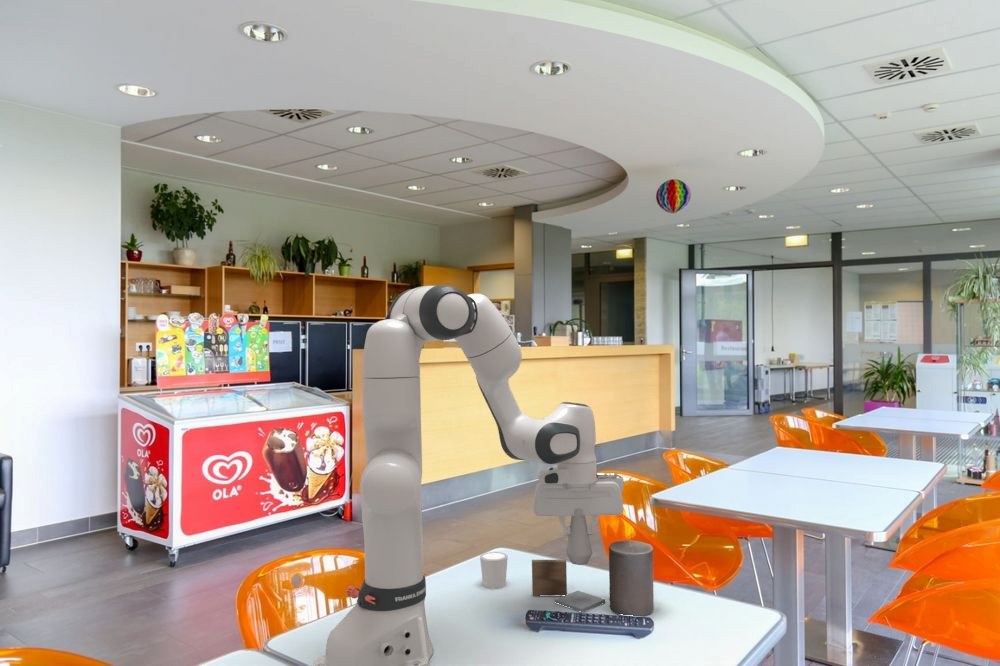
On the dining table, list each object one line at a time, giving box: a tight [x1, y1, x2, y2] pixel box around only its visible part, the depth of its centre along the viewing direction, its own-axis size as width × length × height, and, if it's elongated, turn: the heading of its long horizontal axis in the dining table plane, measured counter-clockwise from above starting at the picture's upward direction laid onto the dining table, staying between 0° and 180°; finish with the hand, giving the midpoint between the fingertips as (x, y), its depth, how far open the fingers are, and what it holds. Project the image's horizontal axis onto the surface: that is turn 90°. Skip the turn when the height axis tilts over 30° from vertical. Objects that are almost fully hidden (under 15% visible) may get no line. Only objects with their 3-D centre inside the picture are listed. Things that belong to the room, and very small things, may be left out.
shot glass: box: [479, 551, 509, 590], centre depth 167 cm, size 7×7×7 cm
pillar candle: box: [608, 539, 655, 617], centre depth 150 cm, size 10×10×15 cm
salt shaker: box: [566, 508, 593, 566], centre depth 154 cm, size 6×6×13 cm
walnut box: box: [531, 559, 568, 597], centre depth 159 cm, size 8×2×8 cm, turn 87°
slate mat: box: [554, 590, 606, 613], centre depth 154 cm, size 8×8×1 cm
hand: (578, 534), depth 154 cm, fingers closed on salt shaker, 4 cm apart
